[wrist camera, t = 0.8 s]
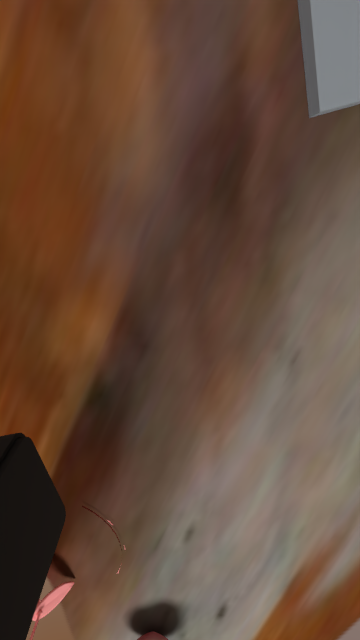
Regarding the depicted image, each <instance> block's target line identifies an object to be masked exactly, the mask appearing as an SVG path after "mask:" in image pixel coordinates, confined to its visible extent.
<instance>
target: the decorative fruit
mask: <svg viewBox="0 0 360 640" xmlns="http://www.w3.org/2000/svg"><path fill="white" fill-rule="evenodd" d="M137 640H168V639H167V638H166V637H164V636H163V635H161V634H159V633H156V632H154V631H152V632H148V633H146V634H144V635H142V636H141V637H140V638H138V639H137Z"/></svg>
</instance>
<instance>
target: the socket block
mask: <svg viewBox="0 0 360 640" xmlns="http://www.w3.org/2000/svg"><path fill="white" fill-rule="evenodd" d="M298 8H299V18H300V29H301V39H302V49H303V59H304V69H305V79H306V89H307V99H308V109H309V118H311V117H314V116H318V115H321V114H325V113H329V112H332V111H336V110H339V109H343V108H347V107H350V106H354V105H357V104H360V0H298Z"/></svg>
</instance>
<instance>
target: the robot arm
mask: <svg viewBox="0 0 360 640" xmlns="http://www.w3.org/2000/svg"><path fill="white" fill-rule="evenodd" d="M65 516H66V512H65V507H64V505H63V503H62V500H61V498H60V496H59V494H58V492H57V490H56V488H55V486H54V484H53V482H52V480H51V478H50V476H49V474H48V472H47V470H46V468H45V466H44V464H43V462H42V460H41V458H40V456H39V454H38V452H37V450H36V448H35V446H34V444H33V442H32V440H31V439H30V438H29V437H25V435H24V434H22V433H15V434H10V435H5V436H0V640H26V637H27V634H28V631H29V628H30V624H31V622H32V619H33V616H34V613H35V610H36V607H37V604H38V601H39V598H40V594H41V592H42V589H43V585H44V582H45V579H46V576H47V573H48V570H49V567H50V564H51V561H52V558H53V555H54V552H55V549H56V546H57V543H58V540H59V537H60V534H61V531H62V528H63V525H64V522H65Z"/></svg>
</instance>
